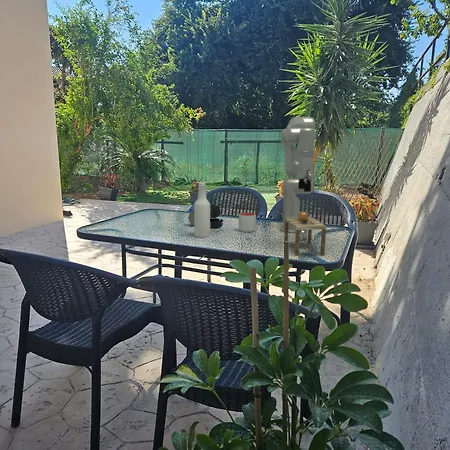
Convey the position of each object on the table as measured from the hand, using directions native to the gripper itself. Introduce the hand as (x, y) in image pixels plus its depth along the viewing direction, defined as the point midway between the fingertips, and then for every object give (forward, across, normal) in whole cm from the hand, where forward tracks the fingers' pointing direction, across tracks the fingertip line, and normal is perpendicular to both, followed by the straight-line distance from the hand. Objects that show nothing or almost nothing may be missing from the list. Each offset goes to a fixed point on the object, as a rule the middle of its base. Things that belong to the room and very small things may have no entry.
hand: (304, 190), depth 195 cm
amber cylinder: (+25, 0, 0) cm, 25 cm away
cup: (+30, -38, -22) cm, 53 cm away
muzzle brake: (+30, -62, -46) cm, 83 cm away
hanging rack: (+29, +4, 0) cm, 29 cm away
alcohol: (+30, -26, -49) cm, 63 cm away
